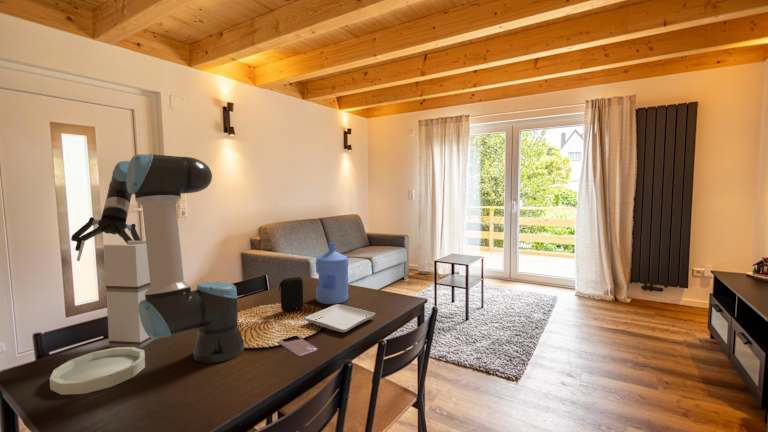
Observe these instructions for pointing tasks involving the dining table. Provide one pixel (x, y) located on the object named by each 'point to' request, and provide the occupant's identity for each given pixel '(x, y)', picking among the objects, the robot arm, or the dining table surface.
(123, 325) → the tall seamed cream box
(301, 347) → the mobile phone
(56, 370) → the round tray
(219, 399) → the dining table surface
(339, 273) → the water jug
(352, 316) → the salad plate
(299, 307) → the black rounded block
